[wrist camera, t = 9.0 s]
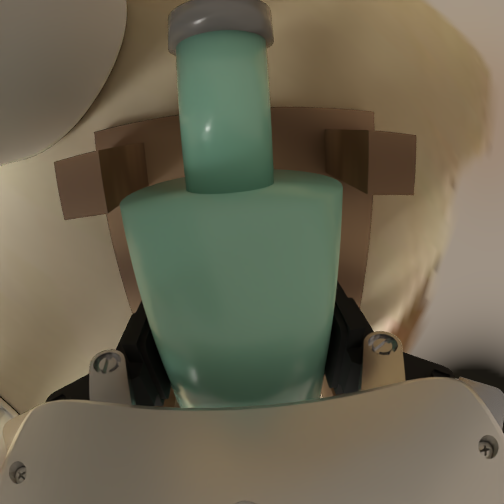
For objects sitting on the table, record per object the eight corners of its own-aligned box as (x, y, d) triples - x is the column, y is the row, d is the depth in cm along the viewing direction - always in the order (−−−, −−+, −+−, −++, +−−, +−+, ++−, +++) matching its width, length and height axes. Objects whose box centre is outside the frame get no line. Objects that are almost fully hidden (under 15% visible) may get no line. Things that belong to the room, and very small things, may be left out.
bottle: (301, 370, 15) (325, 461, 9) (196, 379, 15) (189, 473, 9) (301, 45, 8) (369, -25, 3) (144, 57, 8) (66, 0, 3)
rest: (342, 359, 18) (366, 420, 13) (161, 372, 18) (146, 435, 13) (365, 112, 12) (431, 109, 7) (103, 131, 12) (36, 138, 7)
